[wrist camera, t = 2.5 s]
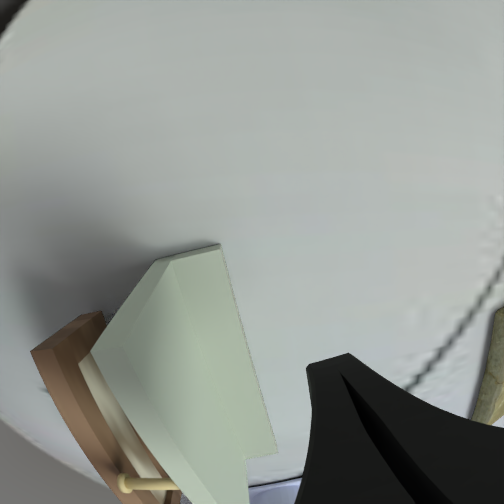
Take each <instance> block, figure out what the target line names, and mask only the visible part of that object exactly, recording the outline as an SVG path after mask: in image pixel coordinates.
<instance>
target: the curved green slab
mask: <svg viewBox="0 0 504 504" xmlns="http://www.w3.org/2000/svg"><path fill="white" fill-rule="evenodd" d="M90 352H91V354H92V356H93V358H94V360H95V362H96V364H97V366H98V367H99V369H100V371H101V373H102V375H103V377H104V379H105V380H106V382H107V384H108V386H109V388H110V389H111V391H112V393H113V395H114V396H115V398H116V400H117V401H118V403H119V405H120V406H121V408H122V410H123V411H124V413H125V414H126V416H127V418H128V419H129V421H130V422H131V424H132V425H133V427H134V428H135V430H136V431H137V433H138V434H139V436H140V437H141V439H142V440H143V442H144V443H145V444H146V446H147V447H148V449H149V450H150V451H151V453H152V454H153V456H154V457H155V458H156V460H157V461H158V462H159V464H160V465H161V466H162V467H163V469H164V470H165V471H166V473H167V474H168V475H169V476H170V478H131V477H130V475H129V474H127V473H120V474H119V475H118V477H117V485H118V488H119V490H120V491H121V492H122V493H131V492H132V490H133V489H134V490H181V491H182V492H183V493H184V494H185V496H186V497H187V498H188V499H189V500H190V501H191V502H192V504H250V502H249V491H248V481H247V470H246V459H250V458H256V457H262V456H267V455H272V454H277V453H278V449H277V444H276V440H275V437H274V434H273V431H272V427H271V424H270V421H269V417H268V414H267V411H266V407H265V404H264V400H263V397H262V394H261V390H260V387H259V383H258V380H257V376H256V373H255V369H254V366H253V362H252V359H251V355H250V352H249V348H248V345H247V341H246V337H245V334H244V330H243V326H242V323H241V319H240V315H239V312H238V308H237V304H236V301H235V297H234V293H233V289H232V285H231V282H230V278H229V274H228V270H227V266H226V262H225V259H224V255H223V251H222V247H221V244H218V245H214V246H210V247H206V248H201V249H197V250H193V251H189V252H185V253H181V254H177V255H173V256H168V257H164V258H160V259H156V260H155V261H154V263H153V264H152V265H151V267H150V268H149V269H148V271H147V272H146V273H145V275H144V276H143V277H142V279H141V280H140V281H139V283H138V284H137V285H136V287H135V288H134V289H133V291H132V292H131V293H130V295H129V296H128V298H127V299H126V300H125V302H124V303H123V305H122V306H121V307H120V309H119V310H118V312H117V313H116V314H115V316H114V317H113V319H112V320H111V321H110V323H109V324H108V326H107V327H106V329H105V330H104V331H103V333H102V334H101V336H100V337H99V339H98V340H97V342H96V343H95V345H94V346H93V348H92V349H91V351H90Z"/></svg>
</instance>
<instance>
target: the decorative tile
mask: <svg viewBox="0 0 504 504" xmlns="http://www.w3.org/2000/svg"><path fill="white" fill-rule="evenodd" d="M503 415H504V307H503V308H501V309H499V310H498V311H497V312H496V314H495V319H494V325H493V332H492V339H491V344H490V349H489V354H488V359H487V364H486V369H485V374H484V377H483V381H482V385H481V388H480V392H479V396H478V400H477V403H476V406H475V410H474V413H473V416H472V419H471V420H472V421H476V422H480V423H484V424H488V425H492V424H493V423H494V422H496V421H497V420H498V419H499V418H501V417H502V416H503Z"/></svg>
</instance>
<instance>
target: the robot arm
mask: <svg viewBox="0 0 504 504" xmlns="http://www.w3.org/2000/svg"><path fill="white" fill-rule="evenodd" d="M306 372H307V379H308V386H309V392H310V399H311V406H312V420H311V430H310V440H309V447H308V453H307V458H306V463H305V467H304V472H303V476H302V478H298V479H294V480H289V481H284V482H280V483H275V484H269V485H264V486H258V487H251V488H248V491H249V502H250V504H504V428H501V427H496V426H492V425H488V424H484V423H480V422H476V421H472V420H469V419H466V418H463V417H460V416H457V415H454V414H452V413H449V412H447V411H444V410H442V409H439V408H437V407H435V406H433V405H431V404H429V403H427V402H425V401H423V400H421V399H419V398H417V397H415V396H413V395H411V394H410V393H408V392H406V391H405V390H403V389H401V388H400V387H398V386H396V385H395V384H393V383H392V382H390V381H388V380H387V379H385V378H384V377H382V376H381V375H379V374H378V373H376V372H375V371H374V370H372V369H371V368H369V367H368V366H366V365H365V364H364V363H362V362H361V361H360V360H358V359H357V358H356V357H354V356H353V355H351V354H350V353H346V354H343V355H340V356H336V357H333V358H329V359H326V360H322V361H319V362H315V363H311V364H309V365H308V366H307V367H306Z"/></svg>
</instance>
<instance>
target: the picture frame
mask: <svg viewBox="0 0 504 504" xmlns="http://www.w3.org/2000/svg"><path fill="white" fill-rule="evenodd" d="M106 327H107V325H106V322H105V320H104V317H103V314H102V311H97V312H92V313H87V314H82V315H80V316H79V317H77V318H76V319H75V320H73V321H72V322H70V323H69V324H67V325H66V326H65V327H63V328H62V329H60V330H59V331H58V332H56V333H55V334H53V335H52V336H51V337H49V338H48V339H46V340H45V341H44V342H42V343H41V344H39V345H38V346H37V347H35V348H34V349H33V350H31V351H30V352H31V354H32V357H33V359H34V362H35V364H36V366H37V368H38V371H39V373H40V375H41V377H42V379H43V381H44V383H45V385H46V387H47V389H48V392H49V393H50V395H51V397H52V399H53V401H54V403H55V405H56V407H57V409H58V411H59V412H60V414H61V416H62V418H63V419H64V421H65V423H66V425H67V426H68V428H69V430H70V431H71V433H72V435H73V436H74V438H75V439H76V441H77V443H78V444H79V446H80V447H81V449H82V450H83V452H84V453H85V455H86V456H87V458H88V459H89V461H90V462H91V463H92V465H93V466H94V468H95V469H96V470H97V472H98V473H99V475H100V476H101V477H102V479H103V480H104V481H105V482H106V484H107V485H108V486H109V488H110V489H111V490H112V491H113V493H114V494H115V495H116V496H117V497H118V499H119V500H120V501H121V502H122V503H123V504H180V500H181V494H182V491H181V490H134V489H133V490H132V492H131V493H122V492H121V491H120V490H119V488H118V485H117V477H118V475H119V474H120V473H127V474H129V475H130V477H131V478H170V476H169V475H168V474H167V473H166V471H165V470H164V469H163V467H162V466H161V465H160V464H159V462H158V461H157V460H156V458H155V457H154V456H153V454H152V453H151V451H150V450H149V449H148V447H147V446H146V444H145V443H144V442H143V440H142V439H141V437H140V436H139V434H138V433H137V431H136V430H135V428H134V427H133V425H132V424H131V422H130V421H129V419H128V418H127V416H126V414H125V413H124V411H123V410H122V408H121V406H120V405H119V403H118V401H117V400H116V398H115V396H114V395H113V393H112V391H111V389H110V388H109V386H108V384H107V382H106V380H105V379H104V377H103V375H102V373H101V371H100V369H99V367H98V366H97V364H96V362H95V360H94V358H93V356H92V354H91V352H90V351H91V349H92V348H93V346H94V345H95V343H96V342H97V340H98V339H99V337H100V336H101V334H102V333H103V331H104V330H105V329H106Z"/></svg>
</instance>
